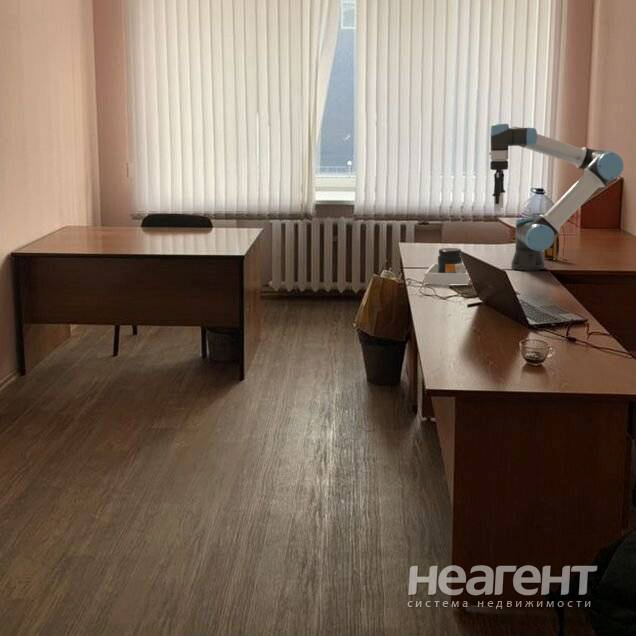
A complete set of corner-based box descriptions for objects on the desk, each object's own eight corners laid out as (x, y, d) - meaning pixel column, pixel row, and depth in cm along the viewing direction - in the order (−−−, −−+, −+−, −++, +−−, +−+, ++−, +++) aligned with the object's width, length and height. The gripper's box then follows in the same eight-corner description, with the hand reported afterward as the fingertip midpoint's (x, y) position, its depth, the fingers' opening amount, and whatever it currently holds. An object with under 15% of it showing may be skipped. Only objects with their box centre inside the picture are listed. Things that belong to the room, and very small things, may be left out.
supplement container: (463, 279, 430) (463, 251, 427) (438, 279, 430) (438, 251, 427) (460, 274, 440) (460, 247, 437) (436, 275, 440) (436, 247, 438)
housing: (433, 274, 449) (433, 263, 448) (473, 275, 444) (474, 264, 443) (424, 284, 426) (424, 273, 425) (467, 285, 421) (467, 274, 420)
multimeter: (574, 259, 480) (575, 217, 475) (561, 261, 474) (562, 219, 469) (549, 256, 491) (550, 215, 487) (536, 258, 485) (537, 216, 481)
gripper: (493, 158, 447) (492, 206, 452) (487, 162, 423) (487, 212, 428) (510, 158, 445) (509, 206, 450) (505, 162, 422) (505, 213, 426)
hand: (498, 209), depth 439 cm, fingers open, 13 cm apart
